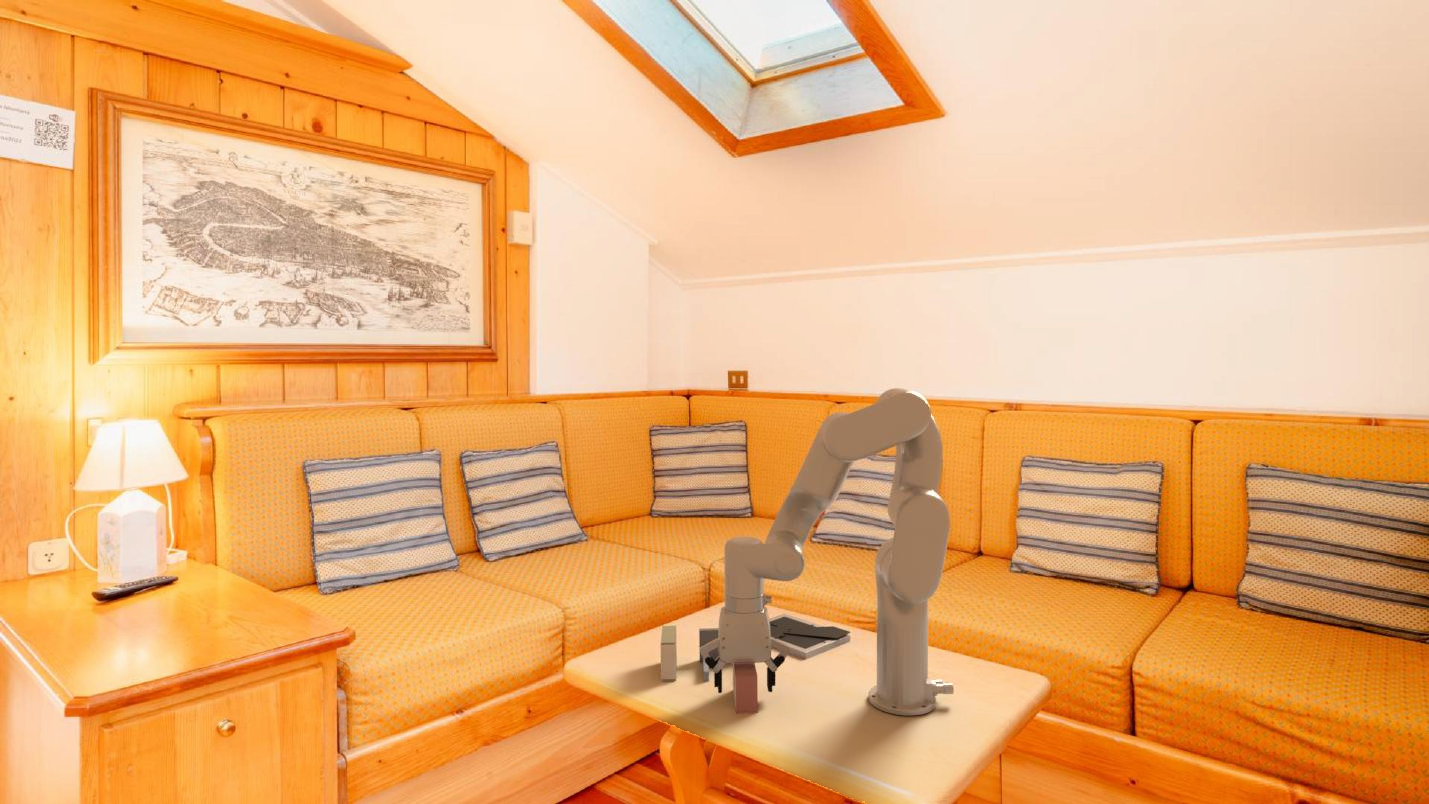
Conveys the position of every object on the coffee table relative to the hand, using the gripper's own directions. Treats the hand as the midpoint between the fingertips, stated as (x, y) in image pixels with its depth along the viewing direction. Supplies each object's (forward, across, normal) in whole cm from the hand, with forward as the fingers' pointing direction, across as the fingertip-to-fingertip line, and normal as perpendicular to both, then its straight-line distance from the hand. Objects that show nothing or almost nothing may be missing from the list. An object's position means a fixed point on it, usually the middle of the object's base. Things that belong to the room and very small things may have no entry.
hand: (744, 689), depth 150 cm
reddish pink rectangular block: (+2, 0, 0) cm, 2 cm away
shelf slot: (+2, +3, -15) cm, 16 cm away
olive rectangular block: (+2, +15, -15) cm, 21 cm away
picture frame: (+3, -14, -33) cm, 36 cm away
